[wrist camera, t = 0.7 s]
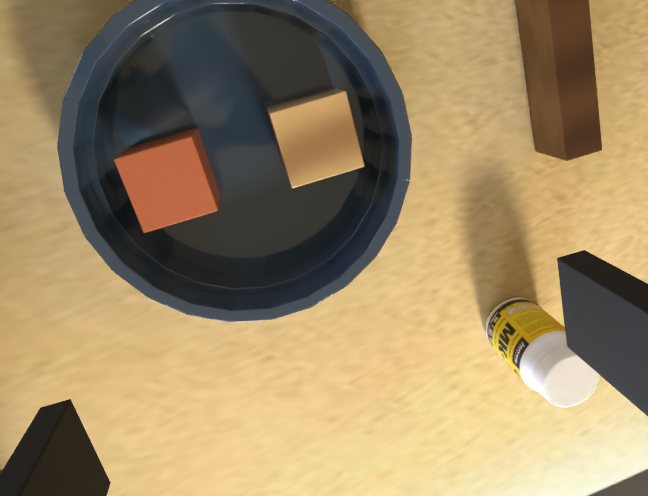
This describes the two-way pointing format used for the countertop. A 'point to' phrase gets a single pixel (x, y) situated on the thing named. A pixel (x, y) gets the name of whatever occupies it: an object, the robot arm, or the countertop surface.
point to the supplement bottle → (540, 352)
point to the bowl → (234, 151)
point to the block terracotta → (169, 180)
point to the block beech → (316, 136)
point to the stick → (560, 76)
